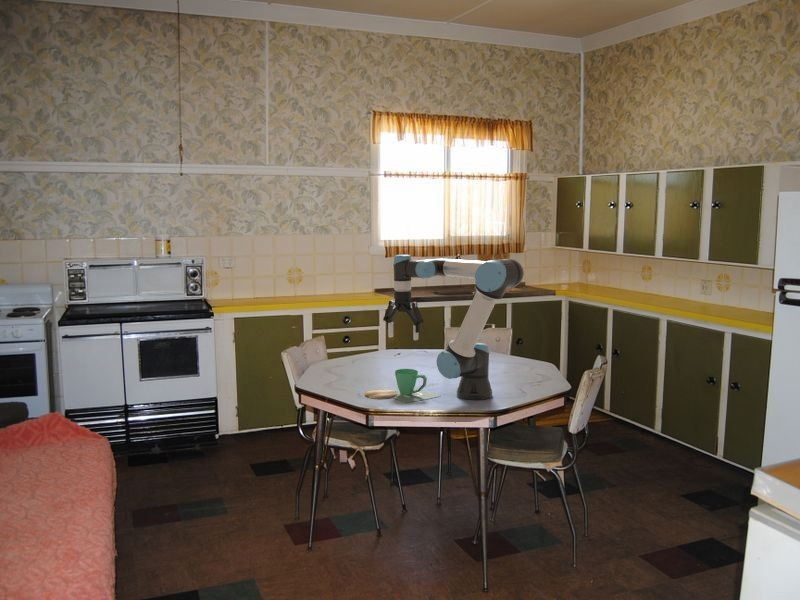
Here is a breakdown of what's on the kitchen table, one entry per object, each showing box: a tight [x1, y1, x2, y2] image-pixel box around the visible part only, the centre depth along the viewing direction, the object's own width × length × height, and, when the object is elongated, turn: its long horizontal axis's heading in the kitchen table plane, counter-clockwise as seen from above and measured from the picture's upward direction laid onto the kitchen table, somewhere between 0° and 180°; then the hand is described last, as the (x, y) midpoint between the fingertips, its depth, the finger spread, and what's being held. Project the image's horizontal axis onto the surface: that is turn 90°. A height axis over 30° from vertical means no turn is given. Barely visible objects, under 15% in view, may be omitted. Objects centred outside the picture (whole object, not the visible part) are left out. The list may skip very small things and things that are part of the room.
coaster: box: [364, 388, 398, 400], centre depth 316 cm, size 14×14×1 cm
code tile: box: [392, 387, 441, 404], centre depth 315 cm, size 18×18×1 cm
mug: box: [394, 368, 428, 395], centre depth 315 cm, size 15×10×10 cm
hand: (403, 338), depth 322 cm, fingers open, 13 cm apart
